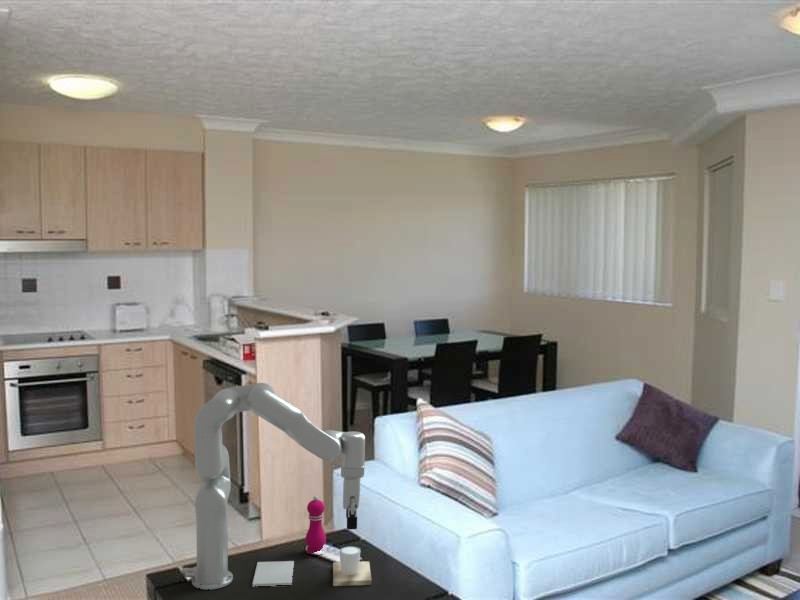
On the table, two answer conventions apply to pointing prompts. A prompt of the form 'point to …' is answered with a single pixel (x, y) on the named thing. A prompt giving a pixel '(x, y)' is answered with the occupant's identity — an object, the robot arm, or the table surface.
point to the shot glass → (350, 560)
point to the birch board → (347, 580)
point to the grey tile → (273, 573)
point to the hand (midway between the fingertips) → (351, 523)
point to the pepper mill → (315, 526)
